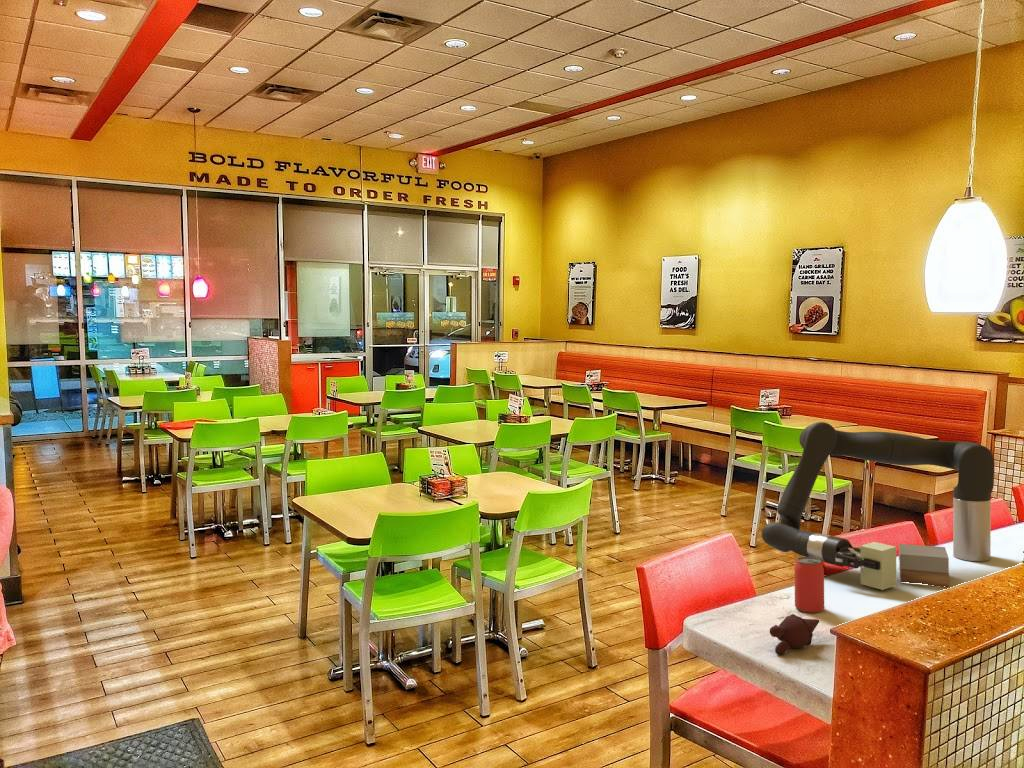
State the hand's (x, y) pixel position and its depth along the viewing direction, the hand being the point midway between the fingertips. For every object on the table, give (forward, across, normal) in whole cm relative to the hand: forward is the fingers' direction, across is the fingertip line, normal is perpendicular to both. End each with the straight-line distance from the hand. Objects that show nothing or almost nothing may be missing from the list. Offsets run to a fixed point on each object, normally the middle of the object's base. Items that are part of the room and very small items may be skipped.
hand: (887, 563), depth 193 cm
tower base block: (0, +16, +8) cm, 17 cm away
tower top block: (0, +16, +4) cm, 16 cm away
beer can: (-3, -27, +7) cm, 28 cm away
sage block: (-2, 0, +6) cm, 7 cm away
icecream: (+9, -48, +7) cm, 49 cm away
